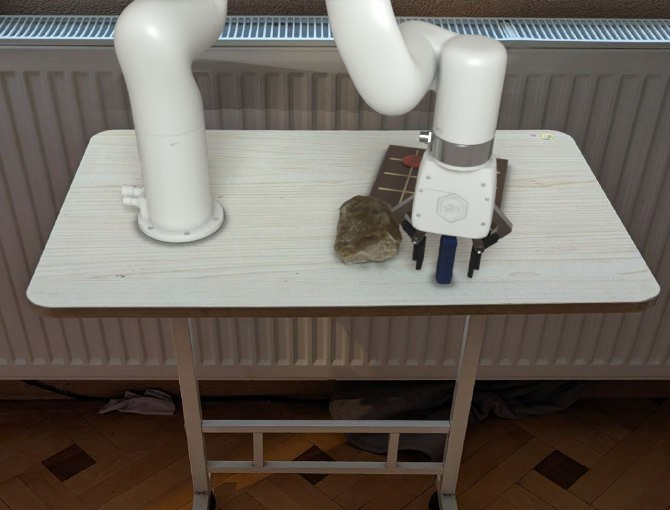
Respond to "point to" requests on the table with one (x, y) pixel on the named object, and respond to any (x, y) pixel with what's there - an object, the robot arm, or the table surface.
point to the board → (414, 176)
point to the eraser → (446, 259)
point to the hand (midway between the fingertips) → (445, 267)
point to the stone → (366, 231)
